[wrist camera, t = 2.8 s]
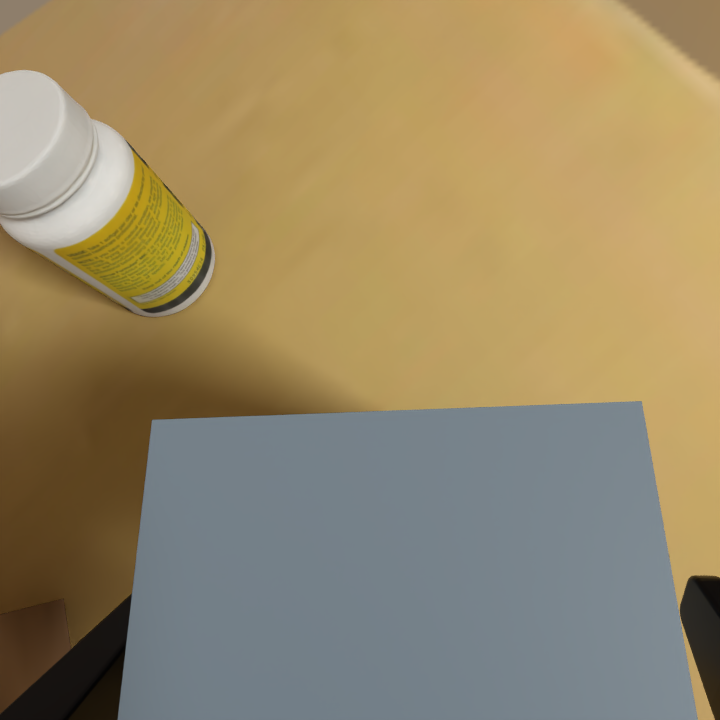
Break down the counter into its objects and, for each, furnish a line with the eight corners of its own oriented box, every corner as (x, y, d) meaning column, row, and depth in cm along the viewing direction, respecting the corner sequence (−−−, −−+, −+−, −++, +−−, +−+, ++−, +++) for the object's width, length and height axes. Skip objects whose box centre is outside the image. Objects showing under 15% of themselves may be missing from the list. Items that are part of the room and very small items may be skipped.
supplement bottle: (232, 227, 21) (104, 61, 13) (198, 328, 20) (36, 212, 12) (137, 215, 22) (-34, 54, 14) (100, 310, 21) (-108, 193, 13)
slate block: (506, 628, 15) (775, 1163, 3) (361, 623, 16) (82, 1036, 4) (494, 477, 16) (640, 401, 4) (360, 479, 17) (152, 420, 5)
